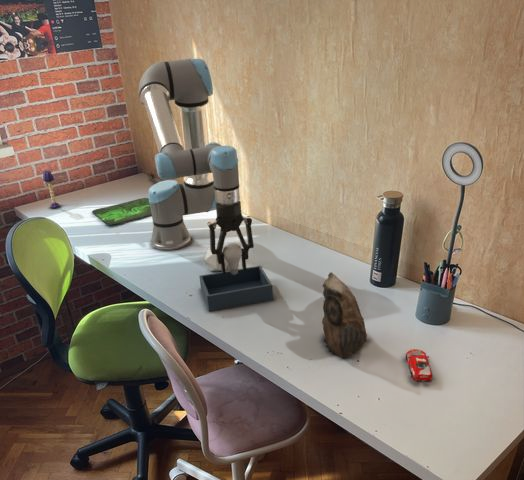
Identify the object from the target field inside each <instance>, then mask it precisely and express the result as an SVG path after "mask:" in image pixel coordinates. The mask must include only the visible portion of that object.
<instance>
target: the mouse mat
mask: <svg viewBox="0 0 524 480" xmlns="http://www.w3.org/2000/svg"><path fill="white" fill-rule="evenodd" d="M91 214H92V215H94V216H95V217H96V218H98V219H99V220H100V221H101V222H102V223H104V224H105V225H106V226H116V225H119V224H123V223H128V222H131V221H134V220H135V221H136V220H139V219H142V218H145V217H146V218H147V217H150V216H152V213H151V207H150V203H149V197H148V198H147V197H142V198H137V199H133V200H130V201H126V202H121V203H118V204H113V205H110V206H106V207H105V206H104V207H100V208H96V209H93V210H92V211H91Z"/></svg>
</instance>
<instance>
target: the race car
mask: <svg viewBox="0 0 524 480" xmlns="http://www.w3.org/2000/svg"><path fill="white" fill-rule="evenodd" d="M428 358H430V356H428V355H427V353H426V352H425V351H423V350H421V349H417V348H413V349H410V350H408V351H407V352H406V353H405V362H406V364H407V367H408V370H409V374H410V377H411V380H412V381H413V382H415V383H418V384H419V383H421V384H424V383H425V384H426V383H432V381H433V371H432V368H431V365H430V362H429V359H428Z"/></svg>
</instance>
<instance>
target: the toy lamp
mask: <svg viewBox="0 0 524 480" xmlns="http://www.w3.org/2000/svg"><path fill="white" fill-rule="evenodd" d="M42 180H43V182H45V183H47V186H48V190H49V194H50V199H51V203H50V209H52V210H54V209H59V208H60V207H61V205H60V204H59V203H58V202H57V201H56V197H55V191H54V188H53V184H52V182H53V181H54V180H55V177H54V175H53V173H52V172H51V170H49V169H48V170H47V169H46V170H44V171H43V175H42Z"/></svg>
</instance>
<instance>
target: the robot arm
mask: <svg viewBox="0 0 524 480" xmlns="http://www.w3.org/2000/svg"><path fill="white" fill-rule="evenodd" d="M213 95H214V85H213V81H212V77H211V73H210V69H209V66H208V64H207V63H206V61H205V59H203V58H192V57H189V58H183V59H177V60H169V61H168V60H167V61H158V62H155V63H153V64H151V66H149V67H148V68H147V69H146V71H144V72H143V74H142V76H141V77H140V81H139V83H138V97H139V100H140V104H141V105H142V107H143V108H144V109H145V110H146V113H147V116H148V120H149V123H150V127H151V130H152V134H153V137H154V140H155V143H156V147H157V151H158V153H156V154H155V155H154V162H155V163H154V164H155V169H156V172H157V176H158V178H159V179H160V180H162V181H159V182H157V181H156V180H155V179H154V178H153V177H152V176H153V175H152V172H149V179H150V180H151V181H152V182H153V183H154V184H153V185H151V186H150V187H149V189H148V191H147V194H148V199H149V203H150V207H151V213H152V215H151V218H152V225H153V226H152V232H151V239H150V241H151V246H152V247H153V248H154V249H156V250H159V251H175V250H180V249H183V248H184V247H186V246H188V245H189V244H190V243H191V241H192V239H191V234H190V232H189V230H188V228H187V226H186V224H185V221H184V216H190V215H195V214H203V213H210V212H213V211H215V212H216V217H215V220H213V221H208V222H207V226H208V229H209V247H210V250H211V253H212V254H213V255H214V254H216V255H217V261H218V263H219V264H221V269H222V271H221V272H223V274H226V272H225V271H226V270H225V262H224V254H223V252H222V249H223V246H225V245H224V244H225V240H226V237H227V233H229V232H236V235H237V236H238V240H239V241H240V244H241V246H242V247H241V249H242V256H241V258H240V259H241V267H242V268H243V269H244V270H246V268H247V260H249V259H250V258H249V252H250V249H253V248H254V247H255V245H254V238H253V230H252V223H253V219H252V217H251V216H250V215H247V216H244V215H243V214H242V203H241V202H242V201H241V189H240V187H241V186H240V175H239V173H240V171H239V157H238V151H237V148H235V147H234V146H231V145H221V143H218V142H216V141H215V142H209V141H208V133H207V132H208V131H207V119H206V107H207V105H208V104H209V100H210V99H209V97H211V96H213ZM170 101H174V105H175V106H176V107H177V108H178V109H179V114H180V123H181V131H182V138H181V136H180V133H179V129H178V127H177V123H176V120H175V117H174V114H173V111H172V108H171V105H170ZM182 140H183V141H182ZM180 178H183V183H179V181H177V180H175V179H180ZM242 223H244V225H245V231H246V237H247V238H246V239H247V242H246V240H245V238H244V236H243V233H242V230H241V228H240V227H241V225H242ZM217 226H218V227H219V228H220V229H219V235H218V240H217V244H216V229H217ZM215 247H217V249H215Z"/></svg>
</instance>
